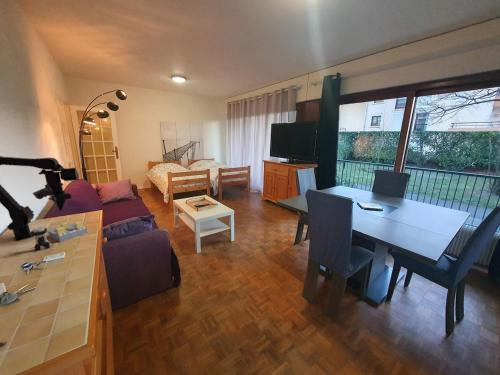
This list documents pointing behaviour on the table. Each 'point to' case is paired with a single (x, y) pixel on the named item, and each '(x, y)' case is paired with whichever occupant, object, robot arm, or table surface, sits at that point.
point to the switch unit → (68, 233)
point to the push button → (40, 238)
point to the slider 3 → (79, 225)
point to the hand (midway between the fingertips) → (60, 210)
